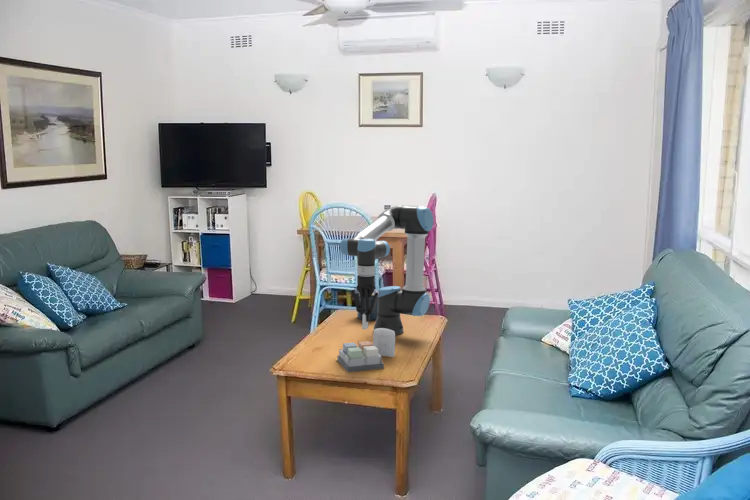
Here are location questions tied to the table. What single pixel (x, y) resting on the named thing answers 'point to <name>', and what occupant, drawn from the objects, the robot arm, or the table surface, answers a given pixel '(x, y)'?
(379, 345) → the photo printer
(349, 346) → the key slate
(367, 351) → the key ivory
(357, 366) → the keypad base
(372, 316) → the canister
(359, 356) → the key sage
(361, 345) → the key terracotta
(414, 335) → the table surface
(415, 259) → the robot arm
